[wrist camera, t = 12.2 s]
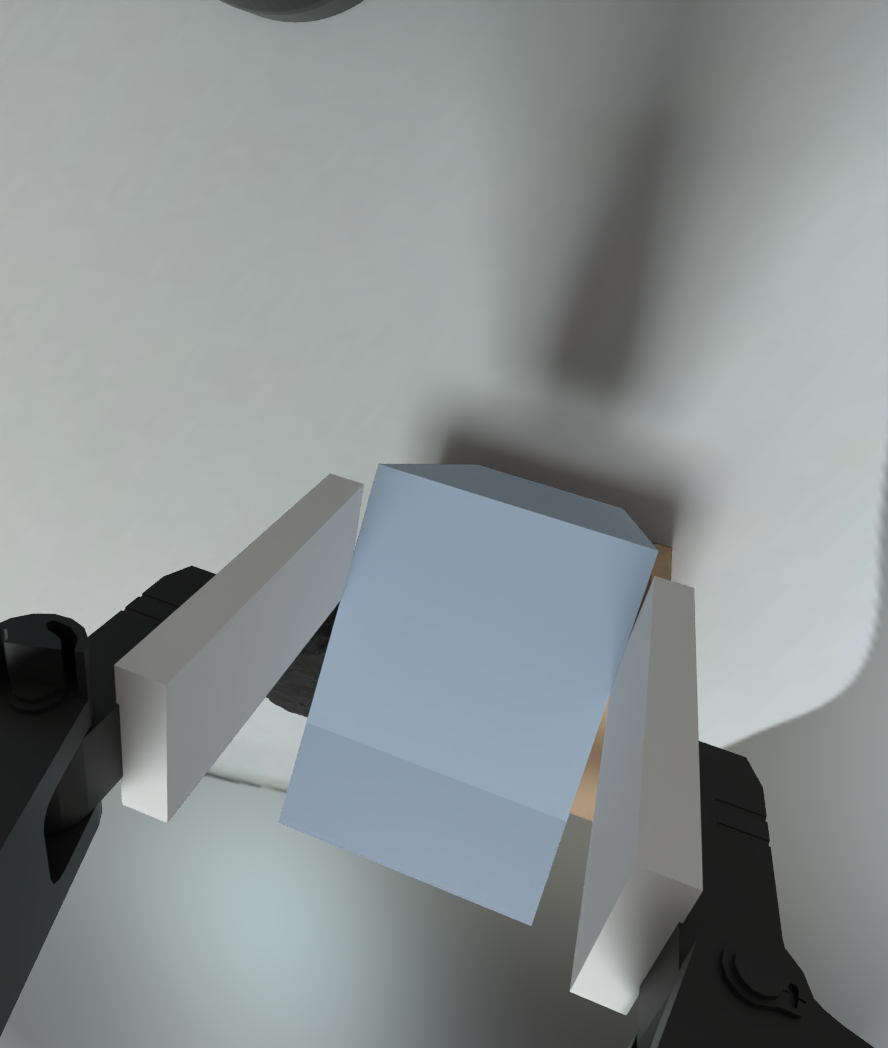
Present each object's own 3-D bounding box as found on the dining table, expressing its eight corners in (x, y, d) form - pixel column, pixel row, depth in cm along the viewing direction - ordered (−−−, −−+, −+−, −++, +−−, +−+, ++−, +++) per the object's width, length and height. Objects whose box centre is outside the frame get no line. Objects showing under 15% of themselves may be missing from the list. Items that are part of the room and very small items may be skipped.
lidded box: (378, 464, 15) (278, 822, 16) (659, 550, 14) (530, 926, 15) (477, 464, 29) (419, 658, 30) (623, 508, 28) (557, 707, 29)
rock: (321, 535, 46) (276, 581, 41) (426, 624, 47) (394, 679, 42) (253, 620, 52) (205, 670, 47) (347, 699, 52) (311, 756, 47)
